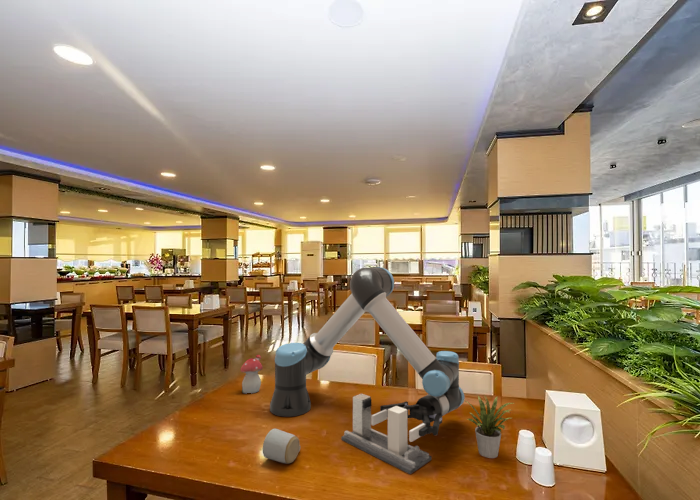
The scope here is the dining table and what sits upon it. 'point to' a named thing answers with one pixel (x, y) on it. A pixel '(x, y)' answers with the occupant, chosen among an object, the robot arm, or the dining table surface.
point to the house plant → (488, 428)
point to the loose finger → (397, 430)
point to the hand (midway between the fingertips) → (390, 428)
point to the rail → (380, 439)
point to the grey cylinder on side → (281, 446)
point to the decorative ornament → (251, 375)
